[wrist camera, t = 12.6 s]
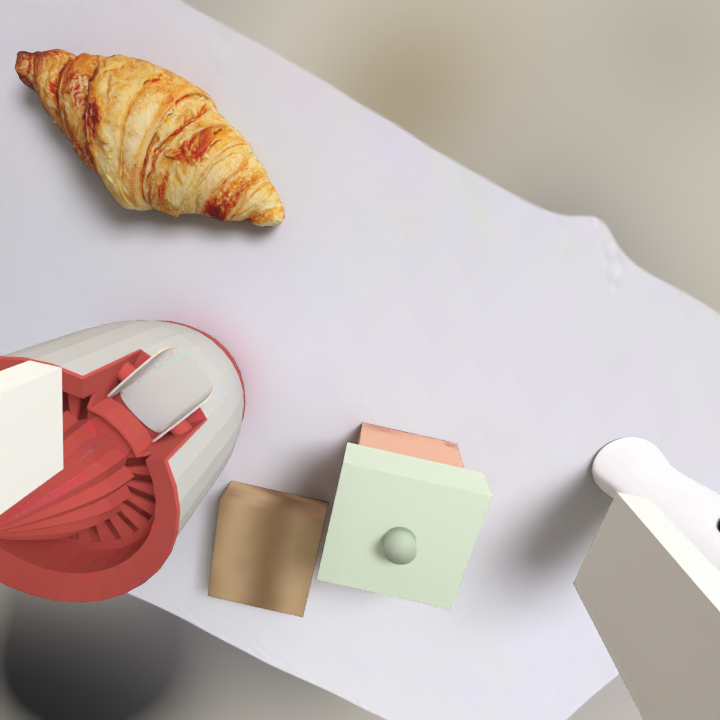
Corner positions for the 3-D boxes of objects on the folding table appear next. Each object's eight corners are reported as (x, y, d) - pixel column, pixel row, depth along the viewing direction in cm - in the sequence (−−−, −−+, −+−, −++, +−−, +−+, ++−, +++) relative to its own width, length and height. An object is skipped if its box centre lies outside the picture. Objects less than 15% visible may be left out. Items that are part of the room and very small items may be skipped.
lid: (322, 551, 36) (314, 591, 32) (347, 442, 33) (341, 471, 29) (446, 579, 36) (452, 623, 32) (483, 472, 33) (496, 506, 29)
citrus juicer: (315, 388, 38) (239, 547, 19) (187, 484, 42) (20, 693, 23) (196, 251, 35) (-34, 276, 16) (71, 369, 39) (-230, 500, 20)
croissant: (311, 189, 36) (319, 130, 29) (254, 286, 34) (245, 250, 27) (83, 55, 34) (23, -50, 26) (8, 151, 32) (-80, 69, 24)
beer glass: (584, 437, 38) (703, 565, 23) (666, 426, 37) (842, 552, 23) (587, 502, 40) (698, 656, 25) (665, 493, 39) (825, 647, 24)
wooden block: (219, 572, 45) (207, 595, 43) (231, 480, 42) (219, 499, 39) (308, 593, 45) (302, 617, 43) (328, 502, 42) (323, 522, 39)
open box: (343, 501, 42) (336, 545, 36) (362, 422, 39) (357, 455, 33) (431, 521, 41) (438, 568, 36) (456, 443, 39) (468, 480, 33)
